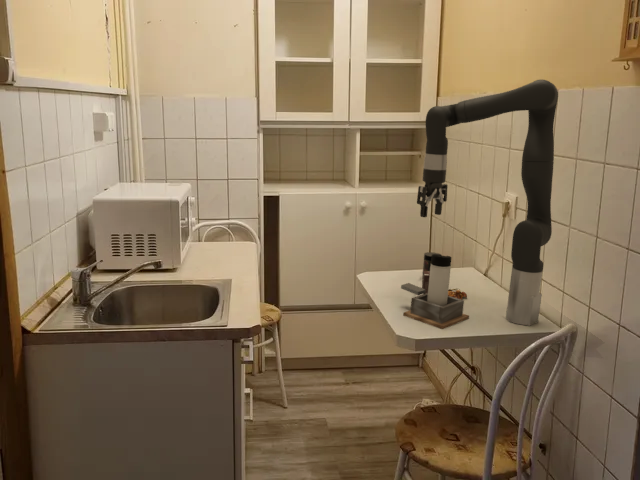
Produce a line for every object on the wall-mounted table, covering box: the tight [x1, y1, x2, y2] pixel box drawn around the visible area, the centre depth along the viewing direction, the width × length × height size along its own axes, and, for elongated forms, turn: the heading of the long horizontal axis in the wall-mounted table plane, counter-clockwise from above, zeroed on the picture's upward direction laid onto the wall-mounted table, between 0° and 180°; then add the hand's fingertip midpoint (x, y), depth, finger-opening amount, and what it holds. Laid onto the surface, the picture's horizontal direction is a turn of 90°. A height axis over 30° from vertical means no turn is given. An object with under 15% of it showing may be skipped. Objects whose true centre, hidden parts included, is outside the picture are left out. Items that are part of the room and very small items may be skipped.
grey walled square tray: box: [402, 293, 470, 330], centre depth 191 cm, size 15×15×6 cm
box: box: [421, 270, 430, 294], centre depth 215 cm, size 6×6×7 cm
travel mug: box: [427, 253, 453, 306], centre depth 188 cm, size 6×7×20 cm
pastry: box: [448, 287, 468, 300], centre depth 211 cm, size 7×12×4 cm, turn 129°
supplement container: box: [421, 251, 443, 280], centre depth 230 cm, size 7×7×10 cm
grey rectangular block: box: [400, 282, 426, 296], centre depth 196 cm, size 7×4×1 cm, turn 45°
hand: (430, 215), depth 201 cm, fingers open, 8 cm apart
